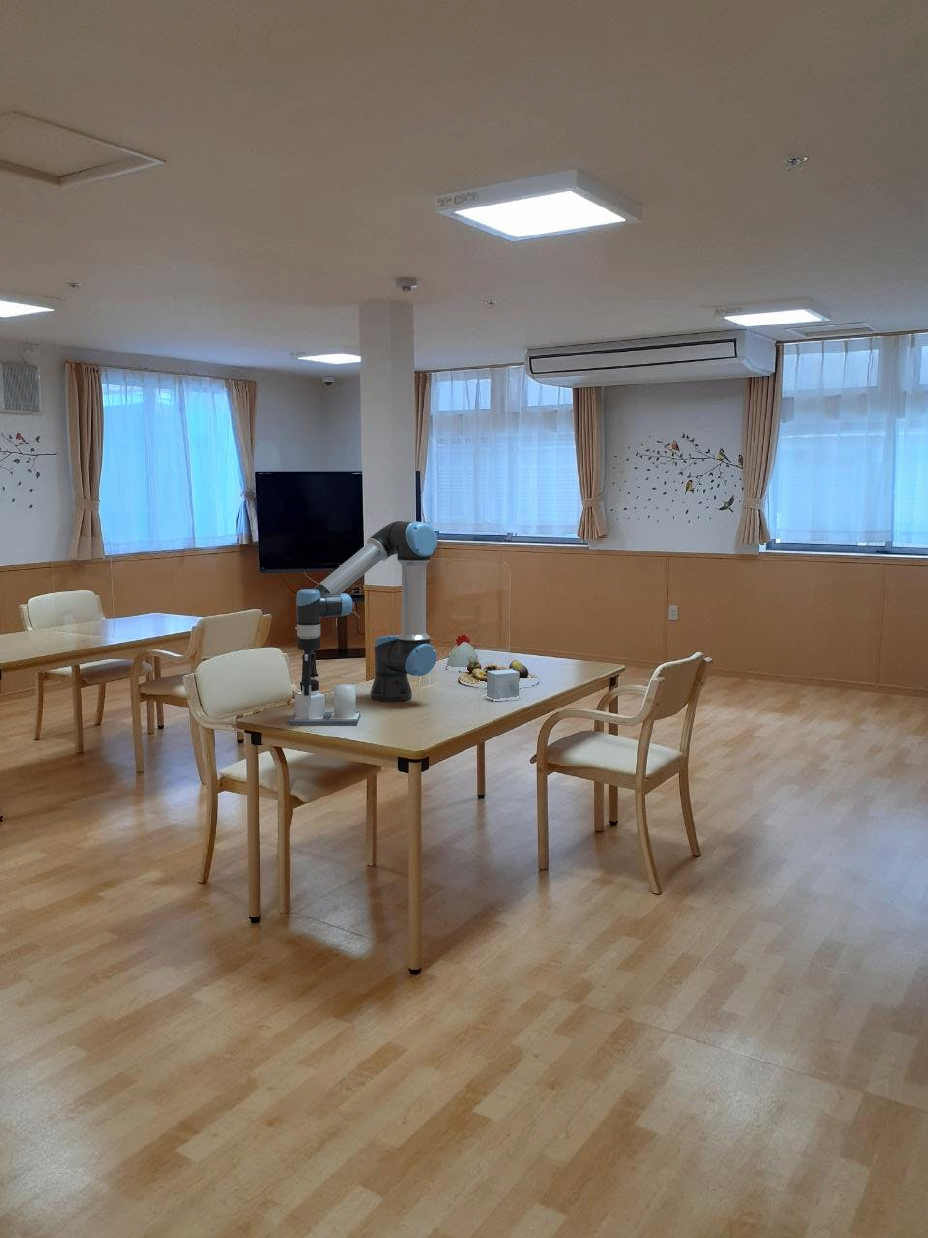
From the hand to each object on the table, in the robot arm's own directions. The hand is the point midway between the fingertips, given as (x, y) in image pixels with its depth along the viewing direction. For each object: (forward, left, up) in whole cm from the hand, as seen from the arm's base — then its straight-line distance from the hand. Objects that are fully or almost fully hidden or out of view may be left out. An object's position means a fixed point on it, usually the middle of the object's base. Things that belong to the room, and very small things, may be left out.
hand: (309, 700), depth 335 cm
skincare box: (-66, -34, -7) cm, 75 cm away
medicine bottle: (0, 0, -5) cm, 5 cm away
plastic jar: (-11, 0, -5) cm, 13 cm away
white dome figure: (-53, -96, -7) cm, 110 cm away
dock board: (-5, 0, -7) cm, 8 cm away
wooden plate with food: (-66, -68, -7) cm, 95 cm away
